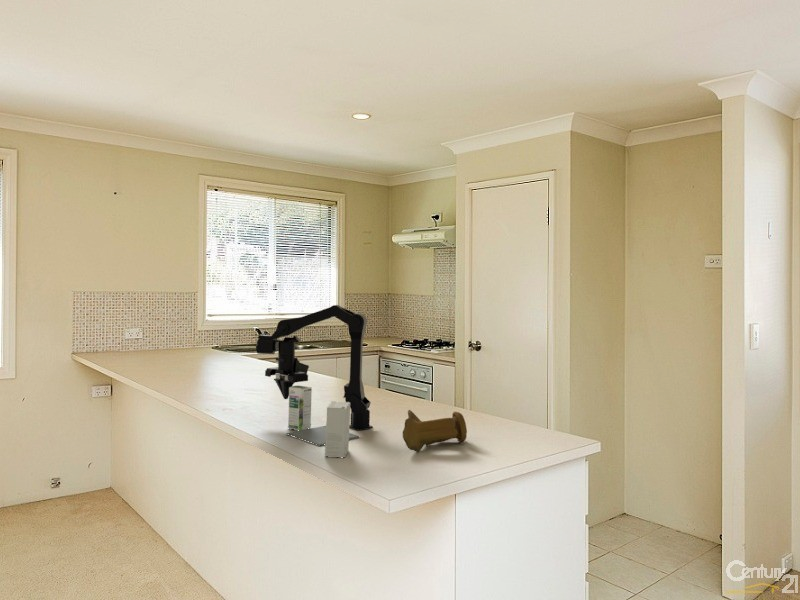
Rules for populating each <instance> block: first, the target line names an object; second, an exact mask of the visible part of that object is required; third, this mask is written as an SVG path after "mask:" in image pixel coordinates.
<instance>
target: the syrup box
mask: <svg viewBox="0 0 800 600" xmlns="http://www.w3.org/2000/svg"><path fill="white" fill-rule="evenodd" d="M312 388H313V387H312V386H305V385H293V386H292V387H289V397H288V421H287V422H288V425H287V429H288V428H289V429H290V430H291V429H294V430H293V431H296V430H299V431H300V430H305V429H308V428H309V429H311V427H312V426H311V425H312V393H313V391H312ZM289 429H288V430H289Z"/></svg>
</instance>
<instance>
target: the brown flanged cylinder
mask: <svg viewBox="0 0 800 600" xmlns="http://www.w3.org/2000/svg"><path fill="white" fill-rule="evenodd" d="M451 416H452V417H444V418H443V417H442V418H438V419H436V418H435V419H431V420H423V421H422V420H420V418H419V417H418V416H417V414H415V413H414V412H413V411H412V410H411V409H408V410H407V419H405V421H404V426H403V429H402V438H403V441H404V442H405V446H406V447H407V448H408V450H410V451H413V452H416V453H417V452H420V451H422V449H423V448H424V446H426V447H428V445H429V446H431V445H433V444H436V443H437V444H438V443H444V442H446V441H449V440H453V439H456V440H457V441H458V442H459V443H460V442H462V443H463V442H465V441H466V439H467V433H468V430H467V424H466V421H465V418H464V415H463V414H462V412H461V413H460V412H458V411H453V413H452V415H451Z"/></svg>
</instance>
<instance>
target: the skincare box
mask: <svg viewBox="0 0 800 600" xmlns="http://www.w3.org/2000/svg"><path fill="white" fill-rule="evenodd" d="M349 425H351V408H350V402H346V401H336V400H331V402H330V403H329V405H328V406H327V407H326V423H325V426H326V443H325V445H324V457H325V456H328V457H327V458H331V457H345V458H346V455H347V454H348V451H349V447H350V446H349V445H350V443H349V442H350V440H349V433H350V428H349Z"/></svg>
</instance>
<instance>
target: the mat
mask: <svg viewBox="0 0 800 600" xmlns="http://www.w3.org/2000/svg"><path fill="white" fill-rule="evenodd" d="M286 434H289V435H292V436H295V437H297V438H300V439H303V440H306V441H309V442H312V443H314V444H317V445H324V444H325V443H326V425H321V426H317V427H312V428H309V429H305V430H300V431H296V430H294V431H291V432H286ZM286 434H285V435H286ZM297 438H296V439H297ZM359 438H360V436H359V435H357V434H354V433H352V432H351V433H350V432H349V441H351V440H355V439H356V440H357V439H359ZM300 439H299V440H300ZM350 439H351V440H350ZM303 440H302V441H303ZM314 444H313V445H314ZM317 445H316V446H317ZM324 446H325V445H324Z"/></svg>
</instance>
